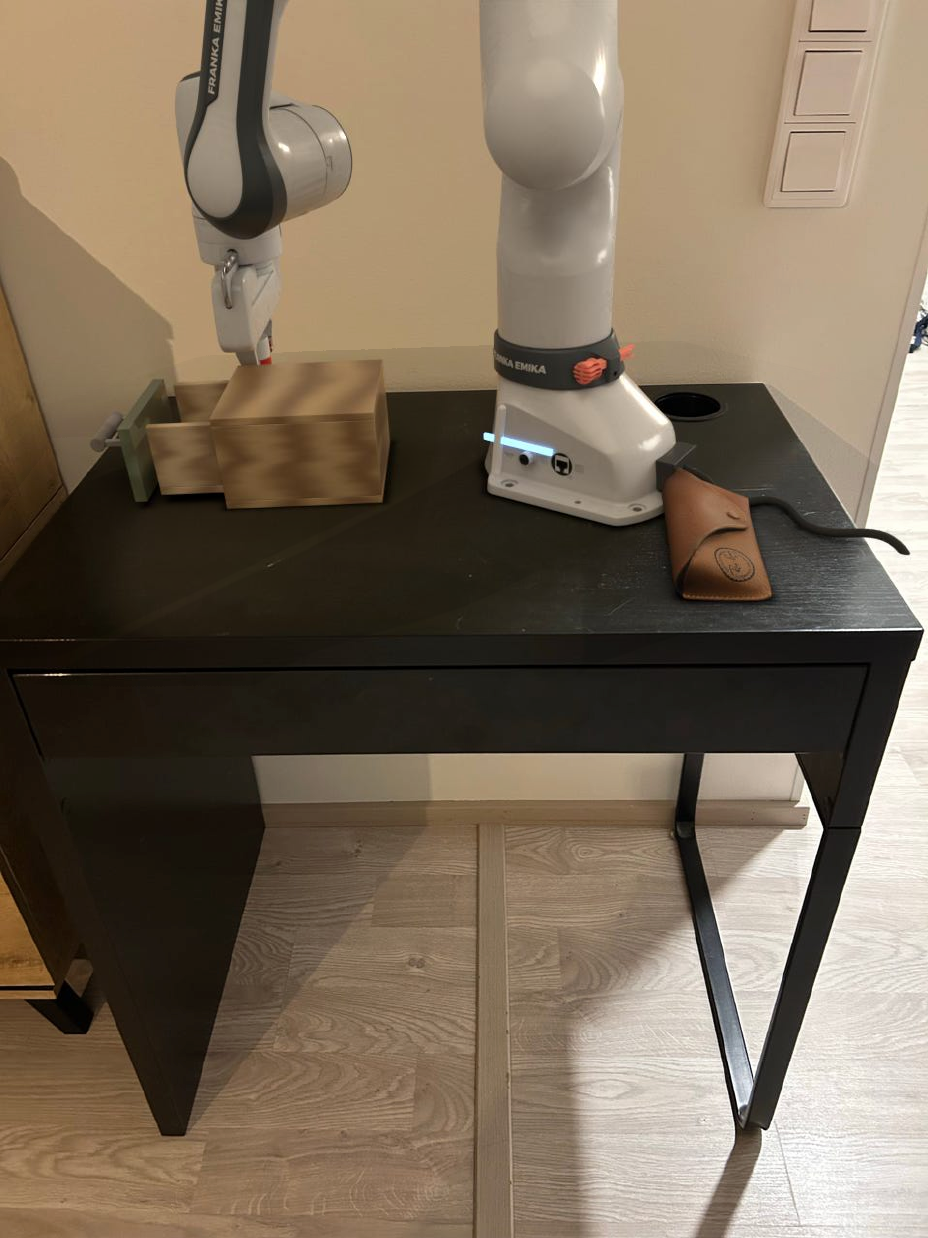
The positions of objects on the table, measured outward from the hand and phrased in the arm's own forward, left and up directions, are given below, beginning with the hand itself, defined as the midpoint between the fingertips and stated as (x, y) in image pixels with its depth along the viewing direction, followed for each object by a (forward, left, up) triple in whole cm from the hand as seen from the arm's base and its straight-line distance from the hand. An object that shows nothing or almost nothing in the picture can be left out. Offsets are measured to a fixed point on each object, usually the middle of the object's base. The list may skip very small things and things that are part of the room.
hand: (260, 364), depth 110 cm
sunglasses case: (-56, -8, -7) cm, 57 cm away
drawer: (-7, +14, -6) cm, 17 cm away
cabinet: (-16, +6, -7) cm, 18 cm away
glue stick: (0, 0, -7) cm, 7 cm away
